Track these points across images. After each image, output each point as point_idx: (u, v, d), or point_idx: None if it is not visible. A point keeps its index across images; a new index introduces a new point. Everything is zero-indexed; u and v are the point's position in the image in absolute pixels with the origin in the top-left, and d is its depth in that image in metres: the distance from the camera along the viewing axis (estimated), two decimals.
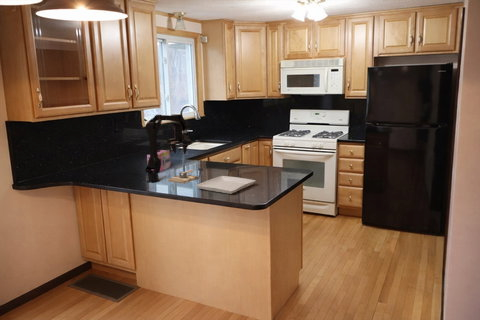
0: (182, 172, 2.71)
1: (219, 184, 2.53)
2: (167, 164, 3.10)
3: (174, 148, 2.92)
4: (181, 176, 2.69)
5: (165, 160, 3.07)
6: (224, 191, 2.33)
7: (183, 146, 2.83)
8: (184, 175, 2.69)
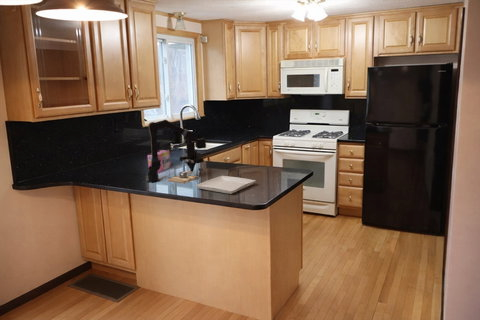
0: (182, 172, 2.71)
1: (219, 184, 2.53)
2: (167, 164, 3.10)
3: None
4: (181, 176, 2.69)
5: (166, 160, 3.07)
6: (224, 191, 2.33)
7: (190, 164, 2.73)
8: (184, 175, 2.69)
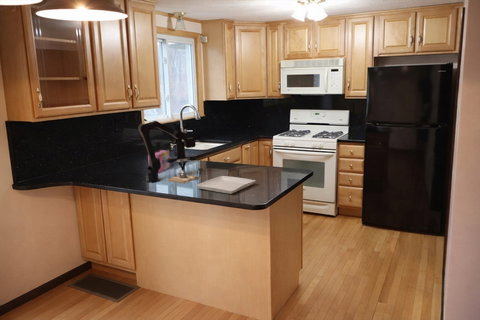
0: (182, 172, 2.71)
1: (219, 184, 2.53)
2: (167, 164, 3.10)
3: (182, 166, 2.78)
4: (184, 176, 2.69)
5: (166, 160, 3.07)
6: (224, 191, 2.33)
7: (184, 163, 2.76)
8: (186, 174, 2.71)
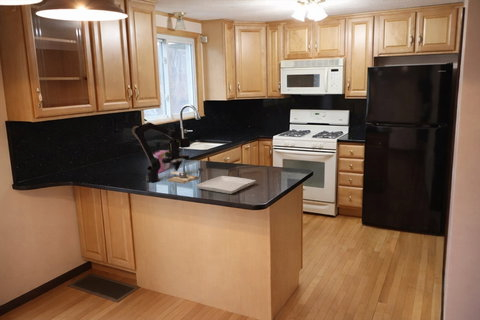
0: (182, 172, 2.70)
1: (219, 184, 2.53)
2: (167, 164, 3.10)
3: None
4: (186, 175, 2.70)
5: None
6: (224, 191, 2.33)
7: (180, 163, 2.75)
8: None
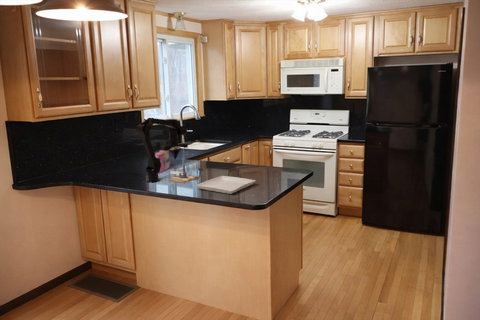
0: (182, 172, 2.70)
1: (219, 184, 2.53)
2: (167, 164, 3.10)
3: None
4: (186, 175, 2.70)
5: (166, 160, 3.06)
6: (224, 191, 2.33)
7: (178, 150, 2.81)
8: None
